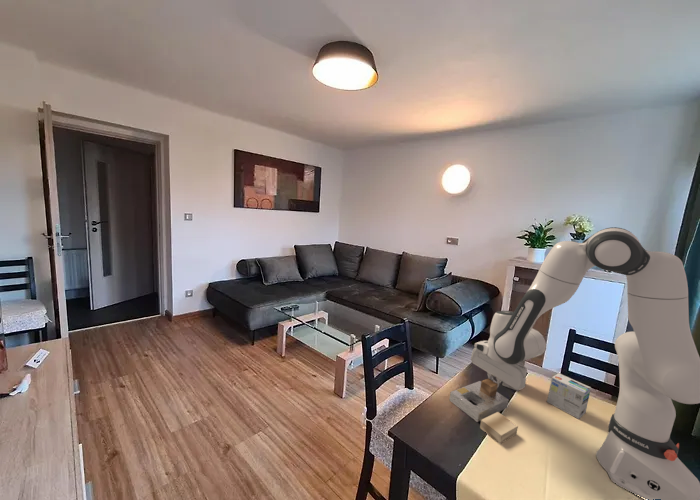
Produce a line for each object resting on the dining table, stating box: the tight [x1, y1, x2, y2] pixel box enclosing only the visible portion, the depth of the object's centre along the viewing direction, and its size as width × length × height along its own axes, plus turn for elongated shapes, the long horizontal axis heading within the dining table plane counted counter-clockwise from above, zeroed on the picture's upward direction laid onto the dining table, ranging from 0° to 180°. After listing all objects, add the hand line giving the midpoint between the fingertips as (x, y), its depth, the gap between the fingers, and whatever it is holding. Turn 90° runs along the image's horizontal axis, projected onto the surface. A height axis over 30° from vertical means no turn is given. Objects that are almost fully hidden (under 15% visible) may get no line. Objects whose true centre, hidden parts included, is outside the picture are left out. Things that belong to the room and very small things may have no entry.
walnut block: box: [480, 378, 499, 397], centre depth 109 cm, size 4×4×4 cm
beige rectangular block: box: [479, 412, 519, 445], centre depth 94 cm, size 7×9×3 cm
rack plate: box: [448, 380, 509, 423], centre depth 107 cm, size 12×17×4 cm
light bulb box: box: [546, 372, 592, 420], centre depth 108 cm, size 11×7×11 cm, turn 35°
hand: (493, 385), depth 110 cm, fingers closed
